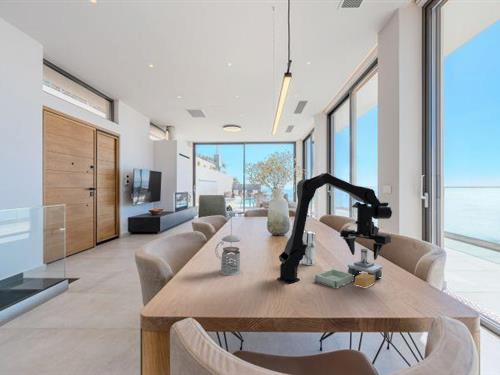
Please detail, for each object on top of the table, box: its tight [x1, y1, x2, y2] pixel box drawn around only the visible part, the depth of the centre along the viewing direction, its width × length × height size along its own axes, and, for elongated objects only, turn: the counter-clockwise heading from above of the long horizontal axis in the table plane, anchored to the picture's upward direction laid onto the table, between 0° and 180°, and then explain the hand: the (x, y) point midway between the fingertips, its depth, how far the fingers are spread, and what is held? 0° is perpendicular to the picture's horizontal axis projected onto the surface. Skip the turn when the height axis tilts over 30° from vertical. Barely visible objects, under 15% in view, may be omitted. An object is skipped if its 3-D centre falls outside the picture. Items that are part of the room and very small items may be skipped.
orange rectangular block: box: [354, 272, 376, 287], centre depth 100 cm, size 7×4×4 cm, turn 130°
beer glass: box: [301, 230, 317, 266], centre depth 127 cm, size 7×7×15 cm
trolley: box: [347, 259, 383, 280], centre depth 109 cm, size 9×10×6 cm
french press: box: [214, 212, 243, 276], centre depth 114 cm, size 10×12×25 cm
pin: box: [360, 248, 369, 265], centre depth 110 cm, size 2×2×6 cm
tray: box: [314, 268, 354, 289], centre depth 104 cm, size 12×9×2 cm
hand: (363, 257), depth 110 cm, fingers open, 9 cm apart
